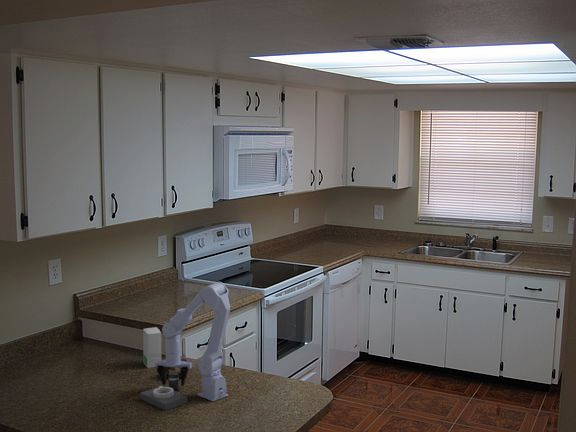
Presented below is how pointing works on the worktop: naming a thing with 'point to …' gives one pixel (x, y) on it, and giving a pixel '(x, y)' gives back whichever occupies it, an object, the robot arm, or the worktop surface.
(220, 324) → the robot arm
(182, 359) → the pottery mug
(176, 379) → the lens
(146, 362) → the skincare box
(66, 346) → the worktop surface
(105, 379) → the worktop surface
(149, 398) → the camera body
